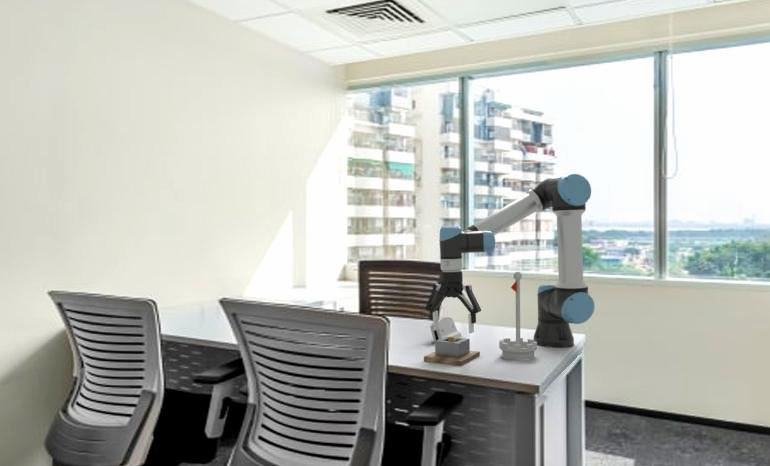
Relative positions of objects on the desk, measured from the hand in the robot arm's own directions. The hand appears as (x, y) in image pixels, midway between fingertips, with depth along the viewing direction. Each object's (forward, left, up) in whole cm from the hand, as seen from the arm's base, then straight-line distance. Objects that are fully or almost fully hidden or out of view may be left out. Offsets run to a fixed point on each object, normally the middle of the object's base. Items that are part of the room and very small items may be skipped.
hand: (453, 331), depth 203 cm
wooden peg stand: (0, 0, -10) cm, 10 cm away
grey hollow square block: (0, 0, -8) cm, 8 cm away
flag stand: (-19, -14, -10) cm, 25 cm away
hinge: (+17, -28, -10) cm, 34 cm away
